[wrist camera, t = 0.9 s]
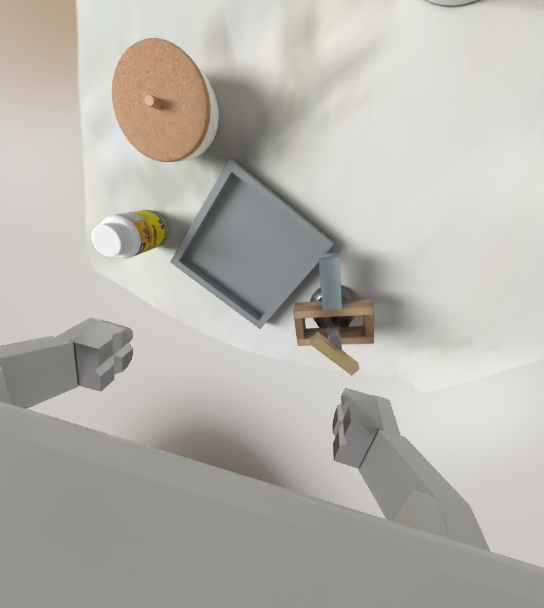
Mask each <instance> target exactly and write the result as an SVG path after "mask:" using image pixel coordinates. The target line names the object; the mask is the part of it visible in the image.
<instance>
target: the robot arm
mask: <svg viewBox="0 0 544 608" xmlns="http://www.w3.org/2000/svg"><path fill="white" fill-rule="evenodd" d="M427 1H429V2H432V3H435V4H440V5H461V4H466V3H470V2H473V1H476V0H427ZM132 339H133V331H132V330H131V329H130V328H128V327H124V326H121V325H117V324H114V323H111V322H108V321H104V320H100V319H97V318H89V319H87V320H85V321H83V322H81V323H80V324H78V325H76V326H74V327H73V328H71V329H69V330H67V331H66V332H64V333H62V334H60V335H58V336H57V337H52V336H50V337H44V338H39V339H34V340H29V341H23V342H19V343H13V344H8V345H2V346H0V608H544V568H542V567H539V566H535V565H532V564H529V563H525V562H523V561H519V560H516V559H513V558H510V557H506V556H503V555H500V554H496V553H493V552H491V551H490V549H489V547H488V545H487V543H486V540H485V538H484V536H483V534H482V531H481V529H480V527H479V525H478V523H477V520H476V518H475V516H474V514H473V512H472V509H471V507H470V505H469V504H468V503H467V502H466V501H465V500H464V499H463V498H462V497H461V496H460V495H459V494H458V493H457V492H456V490H455V489H454V488H453V487H452V486H451V485H450V484H449V483H448V482H447V481H446V480H445V479H444V478H443V477H442V476H441V475H440V473H438V471H437V470H436V469H435V468H434V467H433V466H432V465H431V464H430V463H429V462H428V461H427V460H426V459H425V458H424V457H423V455H422V454H421V453H420V452H419V451H418V450H417V449H416V448H415V447H414V446H413V445H412V444H411V443H410V442H409V441H408V440H407V439H406V438H405V437H403V436H401V435H400V432H399V429H398V426H397V423H396V419H395V416H394V413H393V410H392V407H391V403H390V401H389V400H388V399H387V398H382V397H379V396H374V395H373V396H372V395H368V394H365V393H361V392H358V391H354V390H350V389H347V388H345V390H344V391H343V393H342V396H341V402H342V404H340V405H338V406H337V408H336V411H335V414H334V418H333V434H334V435H335V440H334V442H333V454H334V461H337V462H340V463H343V464H346V465H349V466H352V467H355V468H358V469H359V471H360V473H361V475H362V477H363V479H364V480H365V482H366V484H367V485H368V487H369V489H370V491H371V493H372V494H373V496H374V498H375V499H376V501H377V503H378V505H379V507H380V508H381V510H382V512H383V514H384V515H385V517H386V519H387V520H386V519H383V518H380V517H376V516H373V515H370V514H366V513H363V512H360V511H357V510H353V509H350V508H347V507H344V506H341V505H337V504H334V503H331V502H327V501H324V500H321V499H318V498H314V497H311V496H308V495H305V494H301V493H298V492H295V491H291V490H288V489H285V488H282V487H279V486H275V485H272V484H269V483H266V482H262V481H259V480H256V479H253V478H250V477H246V476H243V475H240V474H237V473H233V472H230V471H227V470H224V469H220V468H217V467H214V466H210V465H208V464H204V463H201V462H198V461H194V460H191V459H188V458H185V457H181V456H178V455H175V454H172V453H168V452H165V451H162V450H159V449H155V448H152V447H149V446H146V445H142V444H139V443H136V442H132V441H129V440H126V439H123V438H120V437H116V436H113V435H109V434H107V433H103V432H100V431H96V430H93V429H90V428H87V427H84V426H81V425H77V424H74V423H71V422H68V421H64V420H61V419H58V418H54V417H51V416H48V415H44V414H42V413H38V412H35V411H32V410H28V409H27V408H29V407H32V406H34V405H36V404H39V403H41V402H43V401H46V400H48V399H50V398H53V397H55V396H57V395H60V394H62V393H65V392H67V391H69V390H72V389H74V388H76V387H78V386H82V387H86V388H90V389H94V390H97V391H102V390H103V389H104V388H105V387H107V386H108V385H109V384H110V383H111V382H112V381H113V380H114V374H117V373H120V372H123V371H124V370H125V369H126V368H127V367H128V365H129V363H130V361H131V360H132V356H133V347H132V346H131V344H130V343H129V342H130V341H131V340H132Z"/></svg>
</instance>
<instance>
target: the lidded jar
mask: <svg viewBox="0 0 544 608" xmlns="http://www.w3.org/2000/svg"><path fill="white" fill-rule="evenodd" d="M112 100H113V107H114V111H115V115H116V118H117V121H118V123H119V126H120V128H121V129H122V131H123V133H124V135H125V136H126V138H127V139H128V141H129V142H130V143H131V144H132V145H133V146H134V147H135V148H136V149H137V150H138V151H139V152H141V153H142V154H144V155H145V156H147V157H149V158H151V159H154V160H157V161H162V162H180V161H187V160H190V159H193V158H196V157H197V156H199V155H201V154H202V153H203V152H205V151H206V150H207V149H208V147H209V146H210V145H211V143H212V142H213V140H214V138H215V135H216V132H217V128H218V121H219V110H218V103H217V100H216V96H215V94H214V91H213V89H212V86H211V84H210V83H209V81H208V79H207V77H206V76H205V75H204V73H203V72H202V71H201V69H200V68H199V67H198V66H197V65H196V64H195V63H194V61H193V60H192V59H191V58H190V57H189V56H188V55H187V54H186V53H185V52H184V51H183V50H182V49H181V48H179V47H178V46H176V45H175V44H173V43H171V42H169V41H166V40H163V39H158V38H149V39H144V40H141V41H139V42H137V43H135V44H133V45H132V46H131V47H129V48H128V49H127V50H126V52H125V53H124V54H123V55H122V57H121V58H120V60H119V62H118V64H117V67H116V69H115V72H114V77H113V83H112Z"/></svg>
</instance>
